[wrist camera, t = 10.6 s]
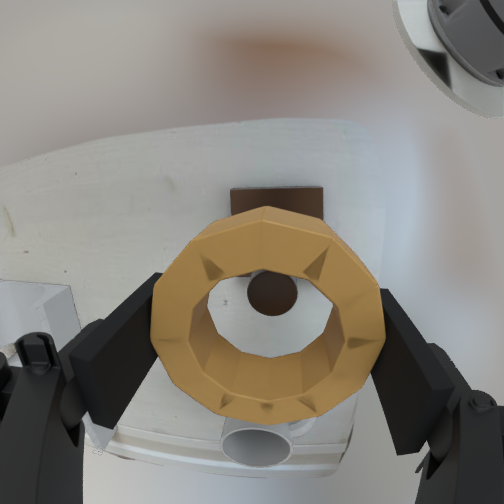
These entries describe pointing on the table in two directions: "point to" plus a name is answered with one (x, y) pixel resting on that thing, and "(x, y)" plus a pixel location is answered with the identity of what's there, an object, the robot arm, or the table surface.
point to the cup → (261, 441)
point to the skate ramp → (43, 327)
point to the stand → (263, 281)
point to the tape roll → (253, 366)
